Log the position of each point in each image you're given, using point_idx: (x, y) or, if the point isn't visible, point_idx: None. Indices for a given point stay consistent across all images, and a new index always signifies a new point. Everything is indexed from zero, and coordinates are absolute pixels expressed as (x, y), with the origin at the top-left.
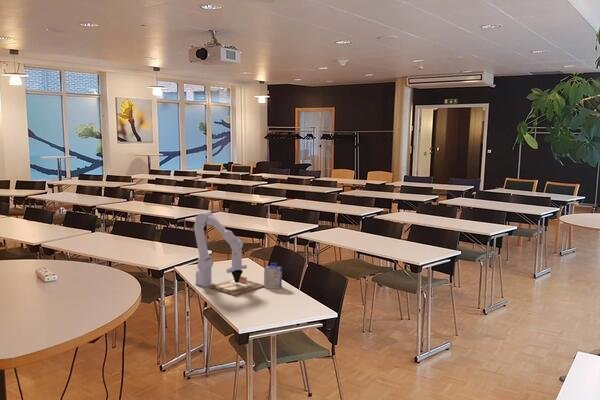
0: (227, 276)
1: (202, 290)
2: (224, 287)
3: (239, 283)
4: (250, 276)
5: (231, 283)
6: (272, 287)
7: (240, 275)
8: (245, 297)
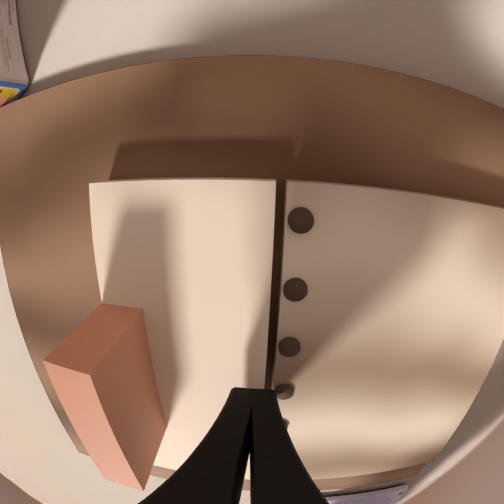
0: (123, 498)
1: (469, 446)
2: (470, 378)
3: (205, 374)
4: (2, 400)
5: None
6: (13, 18)
7: (175, 488)
8: (466, 5)
